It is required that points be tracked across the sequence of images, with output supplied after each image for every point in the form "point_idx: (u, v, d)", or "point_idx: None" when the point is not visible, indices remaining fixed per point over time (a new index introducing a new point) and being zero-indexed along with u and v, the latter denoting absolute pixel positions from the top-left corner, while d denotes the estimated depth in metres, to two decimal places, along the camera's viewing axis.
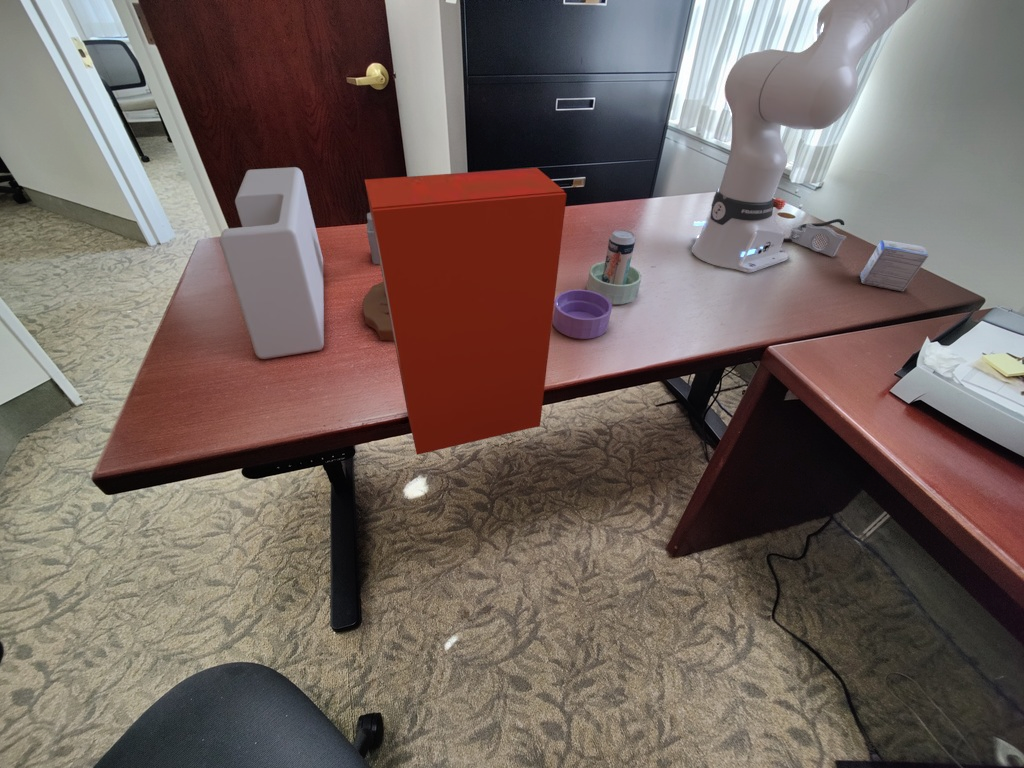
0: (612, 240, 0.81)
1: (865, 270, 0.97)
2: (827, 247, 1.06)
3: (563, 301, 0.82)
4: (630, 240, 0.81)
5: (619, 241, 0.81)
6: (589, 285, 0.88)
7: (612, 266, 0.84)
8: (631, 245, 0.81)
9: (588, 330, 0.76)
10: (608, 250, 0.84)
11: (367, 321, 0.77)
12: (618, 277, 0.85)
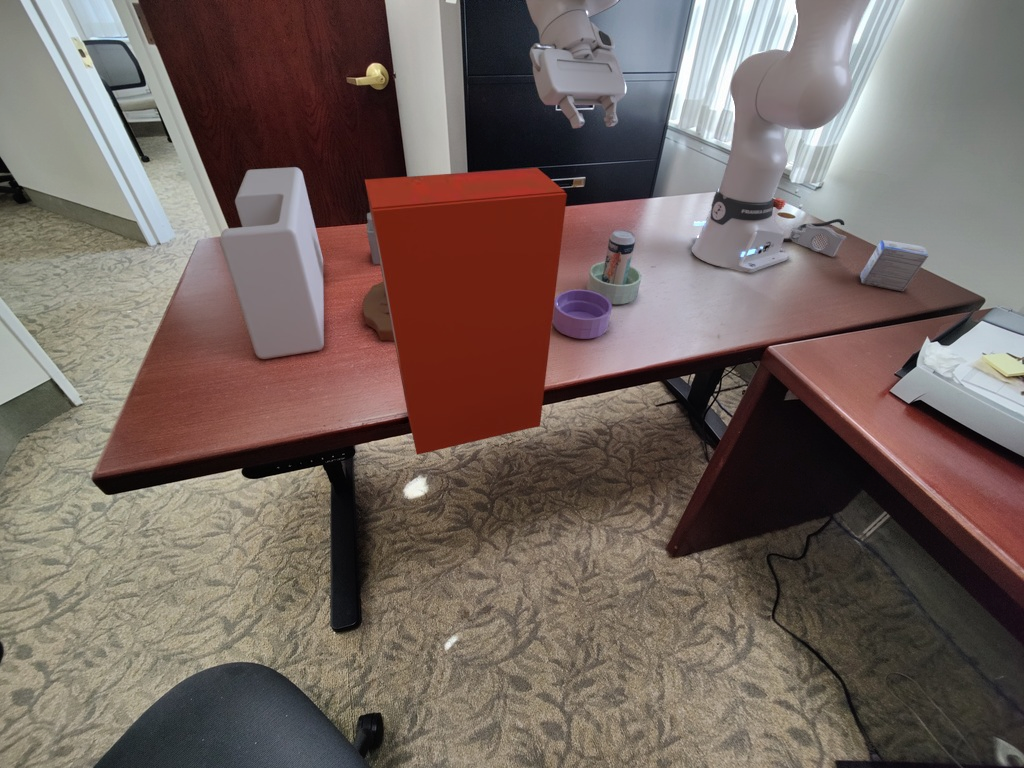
0: (612, 240, 0.81)
1: (865, 270, 0.97)
2: (827, 247, 1.06)
3: (563, 301, 0.82)
4: (630, 240, 0.81)
5: (619, 241, 0.81)
6: (589, 285, 0.88)
7: (612, 266, 0.84)
8: (631, 245, 0.81)
9: (588, 330, 0.76)
10: (608, 250, 0.84)
11: (367, 321, 0.77)
12: (618, 277, 0.85)
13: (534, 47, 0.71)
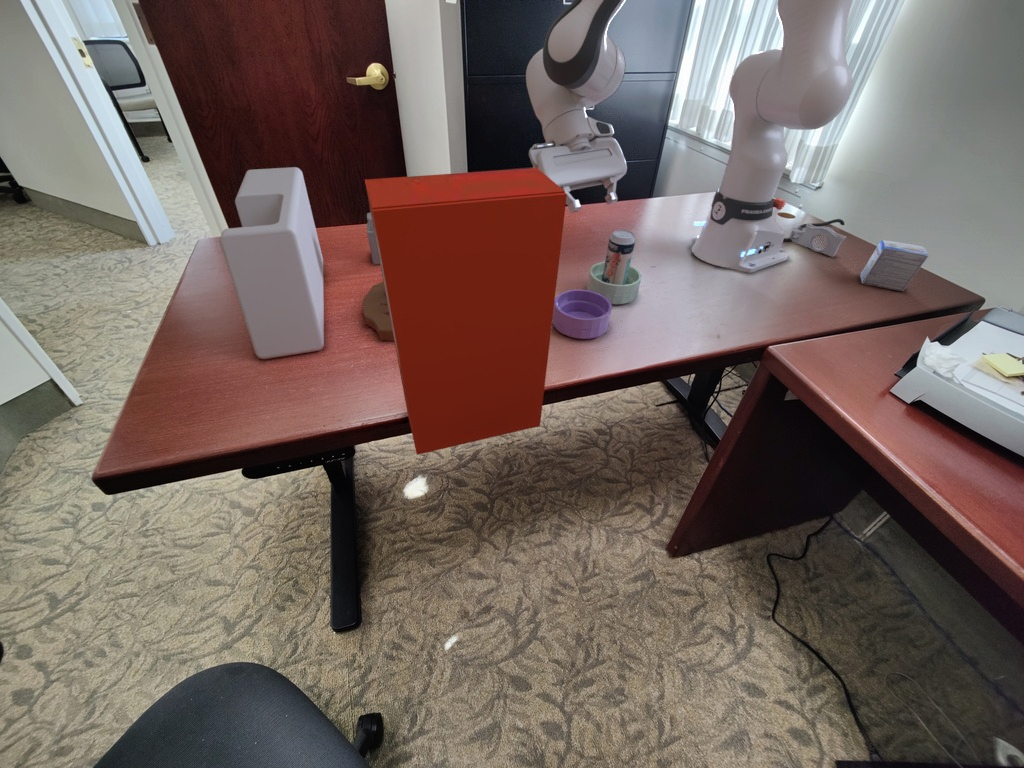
0: (612, 240, 0.81)
1: (865, 270, 0.97)
2: (827, 247, 1.06)
3: (563, 301, 0.82)
4: (630, 240, 0.81)
5: (619, 241, 0.81)
6: (589, 285, 0.88)
7: (612, 266, 0.84)
8: (631, 245, 0.81)
9: (588, 330, 0.76)
10: (608, 250, 0.84)
11: (367, 321, 0.77)
12: (618, 277, 0.85)
13: (533, 148, 0.81)
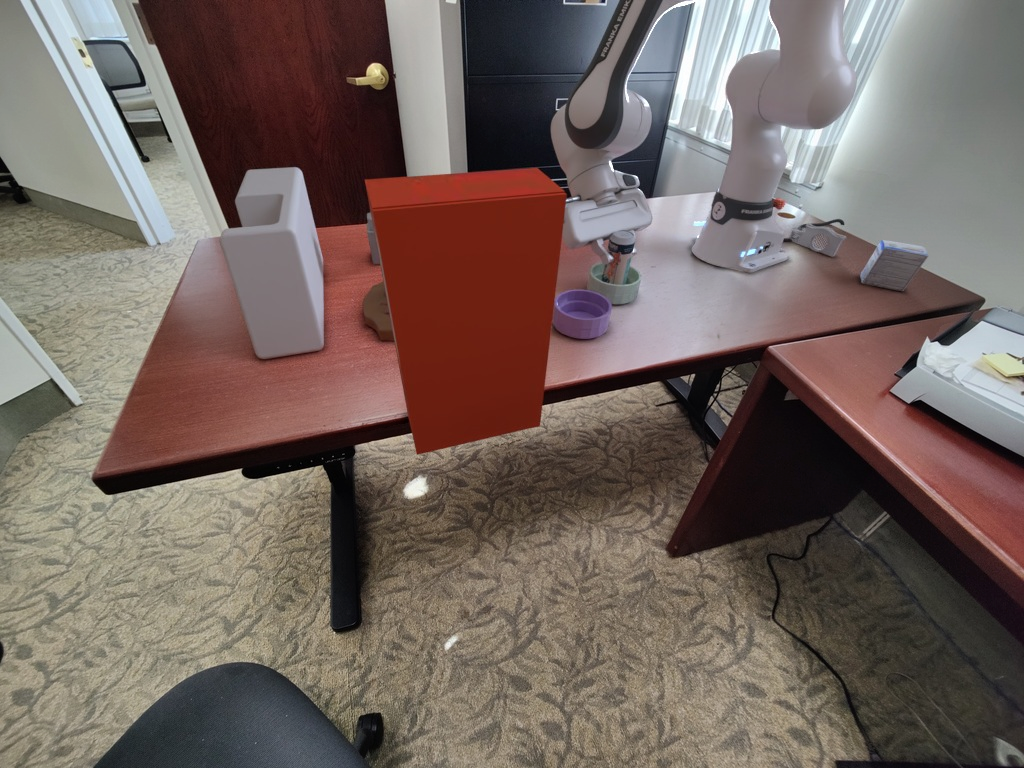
0: (612, 240, 0.81)
1: (865, 270, 0.97)
2: (827, 247, 1.06)
3: (563, 301, 0.82)
4: (630, 240, 0.81)
5: (619, 241, 0.81)
6: (589, 285, 0.88)
7: (612, 266, 0.84)
8: (631, 245, 0.81)
9: (588, 330, 0.76)
10: (608, 250, 0.84)
11: (367, 321, 0.77)
12: (618, 277, 0.85)
13: None
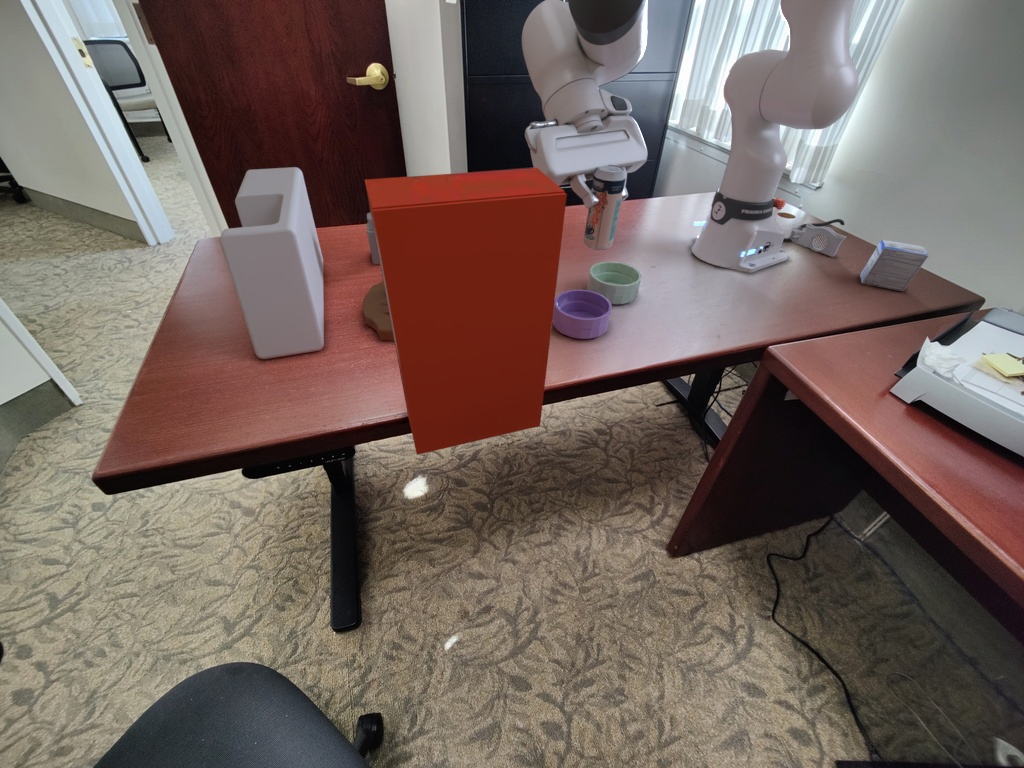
0: (597, 175, 0.65)
1: (865, 270, 0.97)
2: (827, 247, 1.06)
3: (563, 301, 0.82)
4: (619, 175, 0.64)
5: (605, 176, 0.64)
6: (589, 285, 0.88)
7: (597, 210, 0.67)
8: (620, 182, 0.65)
9: (588, 330, 0.76)
10: (592, 190, 0.67)
11: (367, 321, 0.77)
12: (605, 225, 0.68)
13: (530, 127, 0.63)
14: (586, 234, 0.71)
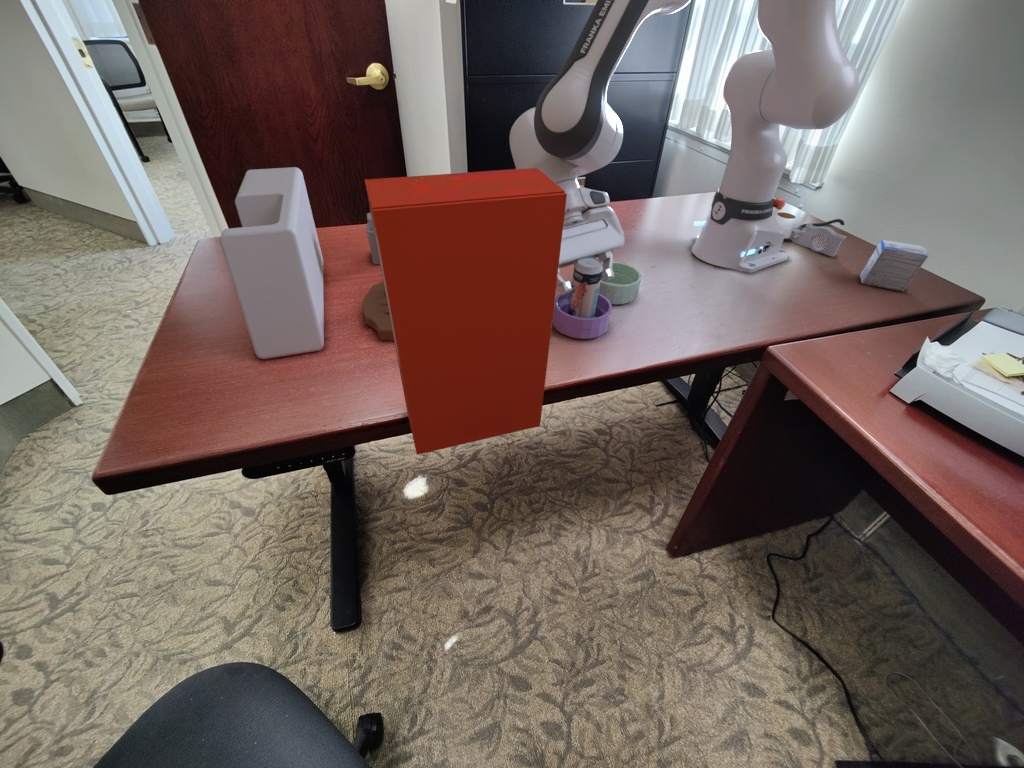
0: (577, 268, 0.72)
1: (865, 270, 0.97)
2: (827, 247, 1.06)
3: (563, 301, 0.82)
4: (596, 269, 0.72)
5: (584, 270, 0.72)
6: None
7: (578, 297, 0.75)
8: (598, 274, 0.72)
9: (588, 330, 0.76)
10: (573, 279, 0.75)
11: (367, 321, 0.77)
12: (585, 309, 0.76)
13: None
14: (569, 314, 0.79)
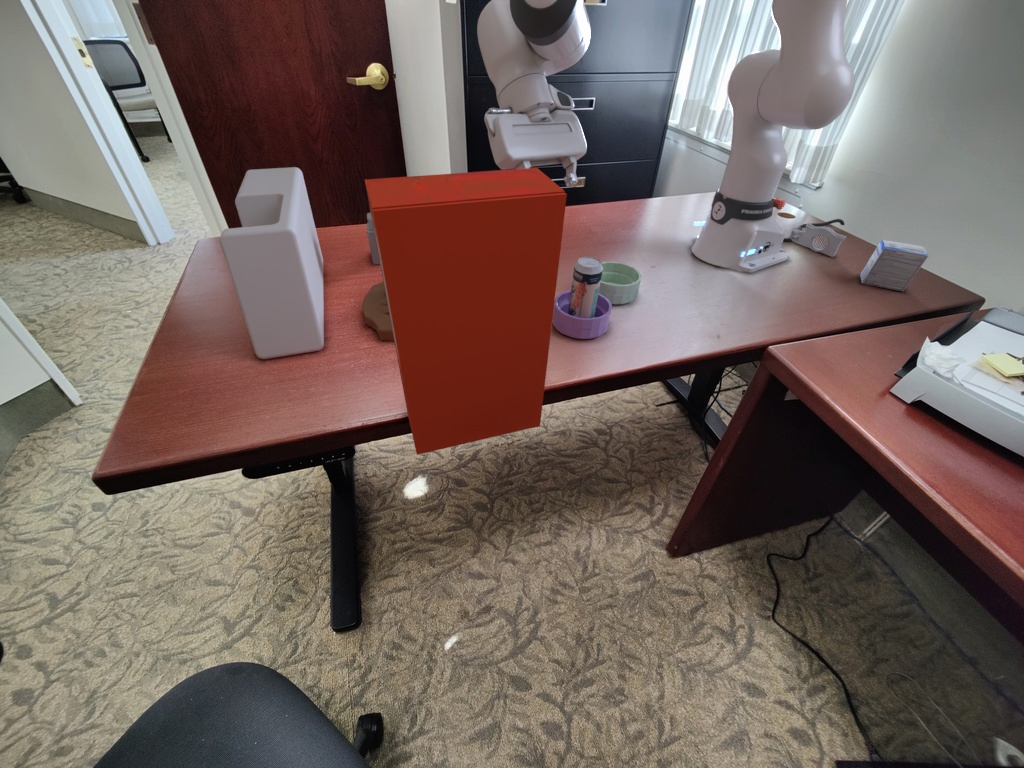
0: (577, 268, 0.72)
1: (865, 270, 0.97)
2: (827, 247, 1.06)
3: (563, 301, 0.82)
4: (596, 269, 0.72)
5: (584, 270, 0.72)
6: None
7: (578, 297, 0.75)
8: (598, 274, 0.72)
9: (588, 330, 0.76)
10: (573, 279, 0.75)
11: (367, 321, 0.77)
12: (585, 309, 0.76)
13: (489, 112, 0.69)
14: (569, 314, 0.79)
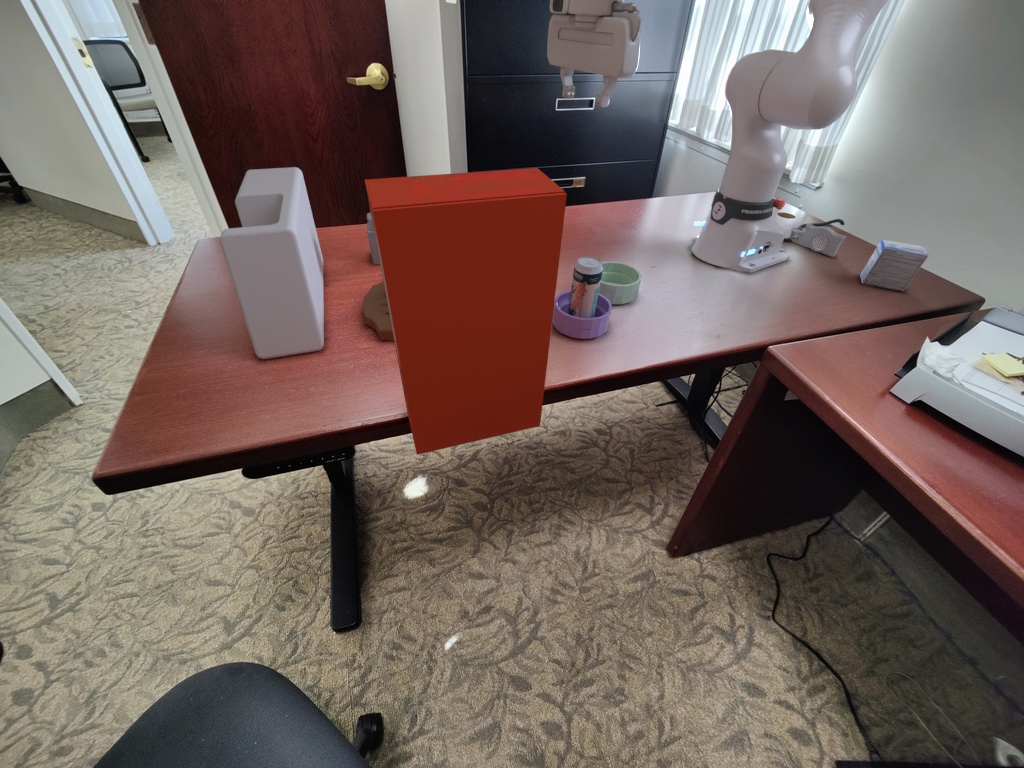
0: (577, 268, 0.72)
1: (865, 270, 0.97)
2: (827, 247, 1.06)
3: (563, 301, 0.82)
4: (596, 269, 0.72)
5: (584, 270, 0.72)
6: None
7: (578, 297, 0.75)
8: (598, 274, 0.72)
9: (588, 330, 0.76)
10: (573, 279, 0.75)
11: (367, 321, 0.77)
12: (585, 309, 0.76)
13: None
14: (569, 314, 0.79)
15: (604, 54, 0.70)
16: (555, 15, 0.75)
